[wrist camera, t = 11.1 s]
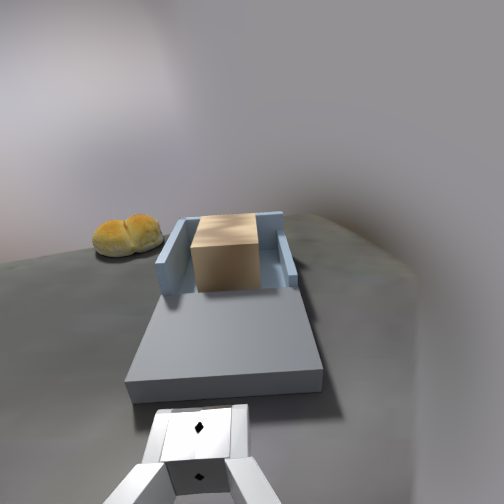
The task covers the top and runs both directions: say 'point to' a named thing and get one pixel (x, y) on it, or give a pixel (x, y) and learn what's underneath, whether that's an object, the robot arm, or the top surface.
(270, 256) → the tray
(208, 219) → the oak block
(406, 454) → the top surface
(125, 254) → the bread roll
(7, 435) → the top surface
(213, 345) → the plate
